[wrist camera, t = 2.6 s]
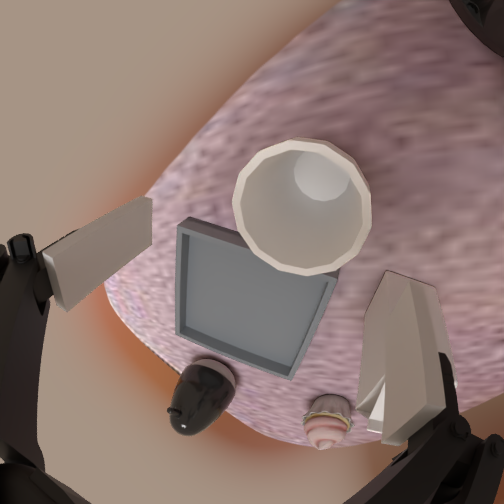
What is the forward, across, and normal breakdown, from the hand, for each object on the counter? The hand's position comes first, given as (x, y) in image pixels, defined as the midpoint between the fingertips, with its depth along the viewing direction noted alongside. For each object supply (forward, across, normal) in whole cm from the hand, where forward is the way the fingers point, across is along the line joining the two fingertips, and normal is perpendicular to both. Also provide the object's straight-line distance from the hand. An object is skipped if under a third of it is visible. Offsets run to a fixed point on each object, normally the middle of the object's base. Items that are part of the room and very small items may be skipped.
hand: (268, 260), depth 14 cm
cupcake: (+20, +14, -37) cm, 44 cm away
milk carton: (+20, +14, -12) cm, 27 cm away
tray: (+20, -5, -20) cm, 28 cm away
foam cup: (+20, 0, 0) cm, 20 cm away
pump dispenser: (+20, -8, -39) cm, 44 cm away
